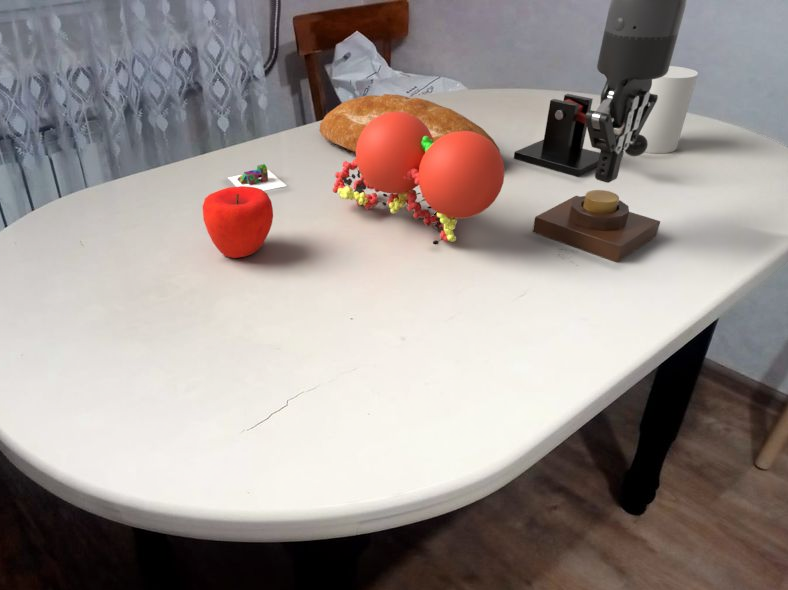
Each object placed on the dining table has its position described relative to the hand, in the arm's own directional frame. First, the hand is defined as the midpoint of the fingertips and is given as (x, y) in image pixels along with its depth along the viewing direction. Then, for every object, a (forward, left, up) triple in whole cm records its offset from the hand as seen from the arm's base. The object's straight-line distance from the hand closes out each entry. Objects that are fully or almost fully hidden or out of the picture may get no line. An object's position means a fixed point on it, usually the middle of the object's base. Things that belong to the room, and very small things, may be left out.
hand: (605, 179), depth 82 cm
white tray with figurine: (+47, +20, -8) cm, 52 cm away
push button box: (0, 0, -8) cm, 8 cm away
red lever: (+12, -21, -2) cm, 25 cm away
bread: (+40, -7, -8) cm, 41 cm away
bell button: (0, 0, -4) cm, 4 cm away
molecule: (+19, +15, -8) cm, 25 cm away
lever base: (+18, -21, -8) cm, 29 cm away
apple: (+29, +36, -8) cm, 47 cm away
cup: (+11, -38, -8) cm, 40 cm away
